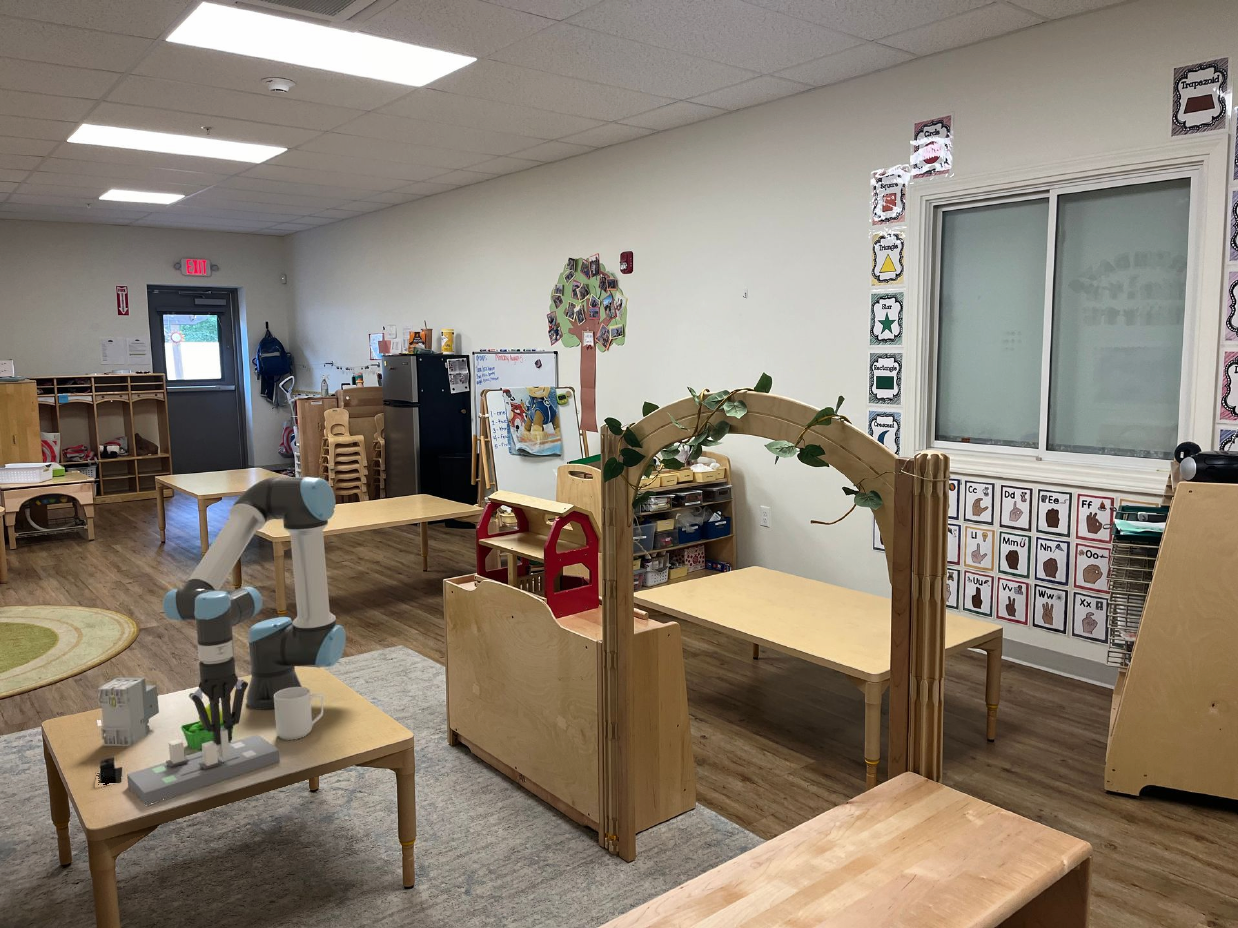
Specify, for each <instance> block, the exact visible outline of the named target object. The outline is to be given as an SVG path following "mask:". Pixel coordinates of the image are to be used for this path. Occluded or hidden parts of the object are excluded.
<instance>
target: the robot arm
mask: <svg viewBox="0 0 1238 928" xmlns="http://www.w3.org/2000/svg"><path fill="white" fill-rule="evenodd" d="M335 508H336V497H335V494H334V490H333V488H332V487H331V485H330V484H329V483H328V481H327V480H326V479H324V478H321V477H312V476H293V477H292V476H291V477H290V476H289V477H288V476H287V477H286V476H285V477H284V476H283V477H279V476H274V477H273V476H272V477H268V478H264V479H263V480H260V481H258V482H257V483H255V484H253V485H251V486H250V487H249V488H248V489H246V490H245V491H244V492H243V493H242V494H241V495H240V496H239V497H238V498H237V499H236V500H235V502H234V504H232V506H231V508H230V510H229V518H228V519H227V521H226V522H225V524H224V526H223V527H222V528H221V529H220V532H219V533H218V535H217V536H216V537H215V539H214V541H213V542H212V543H211V545H210V547H209V548H208V550H207V551H206V552H205V554H204V556H203V557H202V559H200V560H201V561H200V562H199V563H198V565H197V566H196V568H195V569H194V570H193V572H192V574H191V575H190V577H189V578H188V579H187V581H186V583H185V584H184V586H183V587H182V588H175V589H171V590H169V591H168V592H167V593H166V594H165V595H164V597H163V601H162V611H163V614H164V615H165V617H166V618H168V619H170V620H173V621H181V622H188V621H190V622H191V621H192V622H195V625H196V636H197V654H198V660H199V661H200V662H199V663H198V666H199V677H200V681H199V684H198V689H196V690H195V691H194V692H190V693H189V694H188V697H189V699H190V700H191V701H192V702H193V703H194V706H195V708H196V712H197V714H198V718H199V717H200V719H201V722H202V725H203V727H204V729H205V730H207V731H208V732H213V741H214V743H216V745H217V747H218V752H219V756H220V757H222V758H223V759H224V758H227V757H230V756H229V743H230V742H233V732H232V729H233V730H234V727H233V725H234V726H235V725H238V724H239V723H240V722H241V715H242V710H243V709H242V708H243V705H244V704H243V703H244V698H246V705H247V706H248V707H249V708H252V709H256V710H275V707H274V694H275V693H276V692H278V691H280V690H283V689H286V688H291V687H303V686H302V684H301V681H300V679H299V677H298V674H297V672H296V668H295V667H303V668H305V667H306V668H308V667H309V668H316V669H319V668H331V667H333V666H335V665H336V664H337V663H338V662H339V661H340V660H341V658H342V655H343V653H344V651H345V647H346V639H347V635H346V630H345V628H344V627H343V626H342V625H340V624H337V618H336V617H337V616H336V615H335V614H333V613H332V612H331V611H330V600H329V590H328V588H329V587H328V577H327V575H328V574H327V565H326V551H325V539H324V529H325V528H326V527H327V526H328V525H329V520H330V519H331V518H332V517H333V515H334V513H335ZM272 520H282V522H283V529H284V530H285V531H286V532H288V533H289V535H290V546H291V559H292V569H293V579H294V591H295V592H294V593H295V603H296V611H297V612H296V613H297V614H296V615H297V616H296V618H294V619H293V620H292V618H291V617H289V616H281V617H275V618H270V619H266V620H262V621H260V622H257V623H255V624H253V625H252V626H250V628H249V630H248V641H247V643H248V649H249V660H250V661H249V662H250V670H251V671H250V674H251V675H250V676H251V677H250V681H249V683H248V682H247V681H246V680H244V679H239V677H238V675H236V663H235V657H233V656H234V655H235V652H234V651H235V650H234V648H235V647H234V639H233V638H234V636H233V627H235V626H237V625H239V624H241V623H243V622H244V621H247V620H249V619H252V618H253V617H254V616H255V615H257V614H258V613H259V612H260V611H261V610H262V608H263V596H262V595H261V592H260V591H258V590H257V589H256V588H255V587H252V586H244V587H239V588H237V589H236V590H235V589H234V590H231V589H230V590H223V589H221V588H222V586H223V585H224V582H225V581H226V580H227V578H228V576H229V575H230V574H231V572H232V570H233V569H234V567H235V565H236V564H237V563H238V560H239V559H240V557H241V556H242V553H244V551H245V549H246V547H247V546H248V544H249V543H250V541H251V540H252V538H253V537H254V535H255V533H256V532H257V531H259V530H261V529H262V528H264V526H265V525H266V523H267V522H269V521H272ZM247 688H248V689H247ZM233 690H235V691H234V696H233V700H232V699H231V698H232V697H231V693H232V692H233ZM246 690H247V693H246V696H245V692H246ZM203 695H205V696H206V697H207V698H208V702H209V704H210V712H211V722H210V720H209V717H208V714H207V711H206V709H205V707H206V706H205V703H204V701H203ZM231 700H232V701H233V702H232V706H231ZM220 702H221V704H220ZM220 705H221V706H220ZM220 707H221V711H222V719H223V725H224V727H221V725H220V711H219V709H220Z"/></svg>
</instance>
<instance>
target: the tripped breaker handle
mask: <svg viewBox="0 0 1238 928" xmlns="http://www.w3.org/2000/svg"><path fill="white" fill-rule="evenodd" d="M217 747H218V745H216V743H214V742H213V741H210V742H207V743H203V744H202V749H201V751H202V755H203V762H201V763H199V765H200V766H201V767H202V768H203V769H208V768H211V767H214V766H217V765H220V764H222V762H221V761H220V760H219V759H218V758H217Z"/></svg>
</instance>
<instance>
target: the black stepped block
mask: <svg viewBox="0 0 1238 928" xmlns="http://www.w3.org/2000/svg"><path fill="white" fill-rule="evenodd" d="M99 763H100V764H99V770H100V773H97V774H99V775H96V776H98V777H99V778H98V779H100V780H98V781H99V782H98V783H105V784H103V785H107V784H109V783H118V784H121V783H122V778H123V767H122V766H120V767H116V759H115V757H108V758H107V757H106V758H103V759H100V760H99ZM121 777H122V778H121ZM98 785H99V784H98Z"/></svg>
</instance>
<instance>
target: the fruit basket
mask: <svg viewBox="0 0 1238 928" xmlns="http://www.w3.org/2000/svg"><path fill="white" fill-rule="evenodd" d="M205 709H206V711H207V714H208V717H209V720H210V722H211V712H210V703H209V704H208V705H206V706H205ZM219 711H220V725H221V727H224V725H223V719H222V709H220V708H219ZM198 719H199V720H198V721H194V722H191V723H187V724H182V725H181V726H180V729H181V731H182V732H183V736H184V739H185V741H186V743H187V746H189V747H190V748H191V750H193V751H199V750H202V744H203V743H207V742H210V741H213V732H208V731H207V730H205V729H204V727H203V725H202V722H201V719H200V717H199V716H198ZM234 727H235V725H233V729H232V733H233V731H234ZM213 742H214V741H213Z"/></svg>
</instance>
